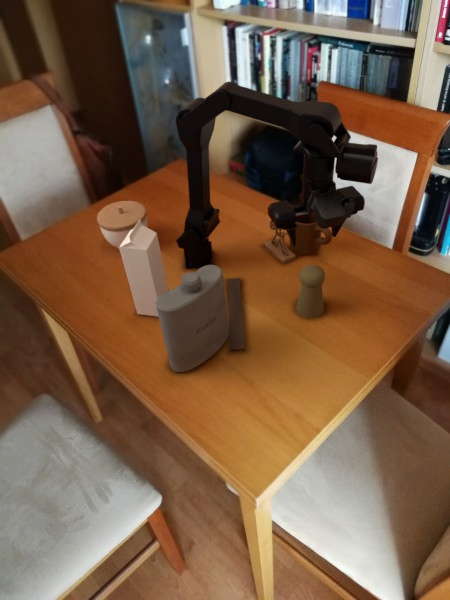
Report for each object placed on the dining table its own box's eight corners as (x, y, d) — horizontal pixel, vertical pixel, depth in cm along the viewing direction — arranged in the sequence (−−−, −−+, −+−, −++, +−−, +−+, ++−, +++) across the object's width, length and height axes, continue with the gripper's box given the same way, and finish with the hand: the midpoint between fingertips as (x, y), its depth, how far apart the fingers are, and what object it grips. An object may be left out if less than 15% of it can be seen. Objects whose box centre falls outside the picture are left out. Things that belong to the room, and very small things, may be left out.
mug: (339, 255, 118) (343, 223, 111) (317, 268, 114) (320, 236, 108) (304, 234, 125) (305, 203, 118) (283, 246, 122) (283, 215, 115)
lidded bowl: (160, 243, 126) (153, 208, 119) (117, 262, 122) (106, 227, 114) (139, 223, 134) (130, 188, 127) (97, 240, 130) (86, 205, 122)
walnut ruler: (230, 351, 97) (230, 349, 97) (227, 281, 113) (226, 278, 113) (245, 350, 97) (245, 348, 97) (239, 280, 113) (239, 277, 113)
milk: (137, 314, 107) (114, 234, 92) (146, 296, 112) (126, 217, 97) (162, 317, 106) (143, 237, 91) (171, 299, 110) (154, 219, 95)
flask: (184, 379, 93) (168, 306, 79) (165, 364, 96) (146, 291, 83) (236, 336, 100) (230, 262, 87) (217, 323, 104) (208, 250, 90)
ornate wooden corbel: (263, 245, 123) (262, 205, 114) (276, 240, 124) (276, 200, 116) (283, 263, 117) (284, 222, 109) (296, 258, 118) (298, 217, 110)
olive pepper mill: (326, 301, 106) (330, 262, 99) (321, 320, 102) (324, 281, 95) (299, 296, 108) (301, 258, 100) (293, 314, 104) (294, 276, 96)
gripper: (287, 205, 83) (286, 273, 94) (384, 184, 86) (372, 252, 97) (266, 176, 91) (267, 242, 102) (355, 158, 94) (347, 223, 105)
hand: (313, 240), depth 101 cm, fingers open, 9 cm apart
